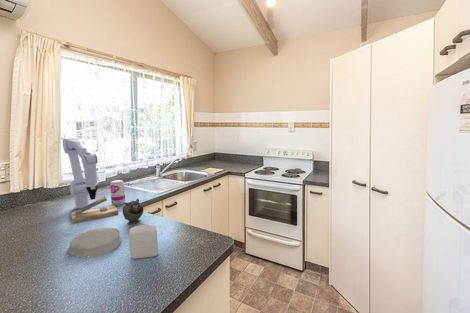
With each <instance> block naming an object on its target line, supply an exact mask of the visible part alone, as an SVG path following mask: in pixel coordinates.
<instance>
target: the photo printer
mask: <svg viewBox="0 0 470 313" xmlns="http://www.w3.org/2000/svg"><path fill="white" fill-rule="evenodd" d="M128 237H129V239H128V240H129V251H130V259H143V258H145V259H146V258H151V257H156V256H158V255H159V243H158V231H157V227H156V225H152V224H151V225H150V224H141V225H135V226H133V227H131V228H130V229H129V232H128Z"/></svg>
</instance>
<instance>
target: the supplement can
mask: <svg viewBox="0 0 470 313" xmlns="http://www.w3.org/2000/svg"><path fill="white" fill-rule="evenodd" d="M109 190H110V202H111V205H115V206H120V205H124V204H125V203H126V189H125V182H124V181H123V179H115V180H112V181H110V184H109ZM124 202H125V203H124Z"/></svg>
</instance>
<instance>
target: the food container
mask: <svg viewBox="0 0 470 313" xmlns="http://www.w3.org/2000/svg"><path fill="white" fill-rule="evenodd" d="M120 235H121V233H120V229H118V228H117V227H115V228H114V227H98V228H93V229H89V230H88V229H87V230H86V231H84V232H81V233H80V234H77V235H76V236H75V237H73V238H72V239H71V240H70V242H69V247H68V248H67V251H68V253H69V254H70V255H71V256H73V257H78V258H79V259H80V258H81V259H84V258H85V257H87V258H93V256H95V257H98V256H101V254H103V255H104V254H107V253H109V252H113V251H114V250H115V249H117V248H118V247H119V246H120V244H121V242H122V240H123V238H122V237H121V236H120ZM97 255H98V256H97ZM83 256H84V258H83ZM88 256H89V257H88ZM85 259H86V258H85Z"/></svg>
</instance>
